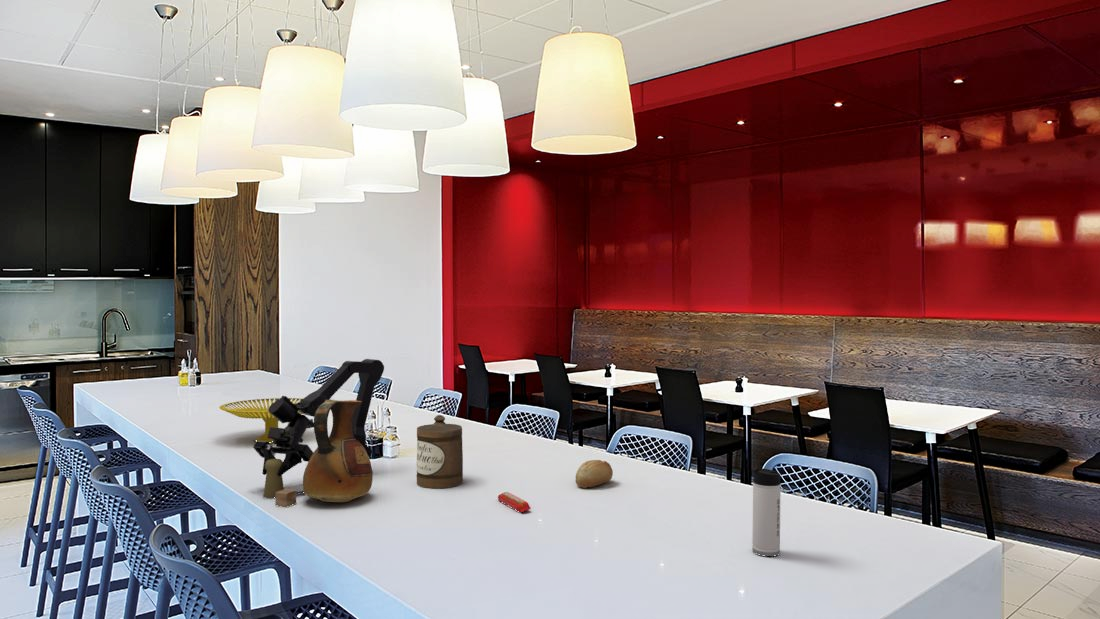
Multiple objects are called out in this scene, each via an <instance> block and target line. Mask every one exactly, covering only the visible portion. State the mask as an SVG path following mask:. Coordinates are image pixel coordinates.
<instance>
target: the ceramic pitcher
mask: <svg viewBox="0 0 1100 619" xmlns="http://www.w3.org/2000/svg"><path fill="white" fill-rule="evenodd" d="M361 403H362V401H356V399H355V400H353V399H352V400H351V399H348V400H336V399H333V398H330V400H325V402H324V403H323V404H321V405H320V406H319V407H318V409H317V410H316V412H315V415H314V417H313V423H314V427H313V431H314V435H315V441H316V445H317V447H316V449H315V450H314V451H313V452H314V453H313V454H312V456H311V458H310V460H309V462H307V464H306V467H305V470H304V472H303V475H302V484H303V490H304V493H303V494H305V495H306V496H307V497H310V498H313V499H316V500H317V499H318V500H320V501H321V502H326V503H327V502H330V503H331V502H332V503H348V502H351V501H352V500H354V499H357V498H359V497H362V496H365V495H366V494H368V493H369V492H370V490H371V489H372V485H373V479H374V478H373V477H374V476H373V475H374V474H373V468H372V462H371V459H370V457H369V456H368V454H367V452H366V450H365V449H364V447H363V446H362V444H361V443H360V442H359V441H357V440H356V439H355V438H354V435H353V432H352V420H353V413H354V410H355V409H356V408H357V407H358V406H359V405H360V404H361ZM330 412H331V416H332V426H331V431H330V434H329V432H328V430H329V429H328V419H329V418H328V417H329V414H330Z"/></svg>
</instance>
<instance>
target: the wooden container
mask: <svg viewBox="0 0 1100 619" xmlns="http://www.w3.org/2000/svg"><path fill="white" fill-rule="evenodd" d="M433 420H434V422H433V423H431V424H423V425H420V426H417V427H416V439H417V440H416V485H417V486H419V487H421V488H425V487H426V489H447V488H446V487H450V488H454V487H453V486H455V487H457V485H458V486H460V485H462V484H463V482H464V472H463V470H464V462H463V461H464V457H463V455H464V454H463V426H462V425H460V424H455V423H446V422H445V420H446V418H445V416H444V415H443V414H442V415H441V414H437V415H436V416H435V417H434V418H433ZM461 483H462V484H461ZM459 484H460V485H459Z"/></svg>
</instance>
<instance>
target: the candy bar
mask: <svg viewBox="0 0 1100 619" xmlns="http://www.w3.org/2000/svg"><path fill="white" fill-rule="evenodd" d="M497 500H498V502H499V501H501V502H503V503H505V504H507V505H509V506H511V507H512V508H514V509H516V510H517V511H519V512H523V513H525V512H527V511H529V510H531V506H530V505H529V502H528V501H526V500H525V499H522V498H520V497H519V496H516V495H514V494H513V493H511V492H509V491H505V492H502V493H500V494H498V496H497ZM501 502H500V503H501ZM503 503H502V504H503ZM512 508H511V509H512ZM517 511H516V512H517ZM524 511H525V512H524ZM519 512H518V513H519Z"/></svg>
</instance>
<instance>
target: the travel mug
mask: <svg viewBox="0 0 1100 619" xmlns="http://www.w3.org/2000/svg"><path fill="white" fill-rule="evenodd" d="M751 472H752V473H753V481H752V484H753V485H752V538H751V539H752V546H751V547H752V548H751V549H752V550H753V551H752V552H753V553H754V552H755V553H757V554H760V555H765V556H774V555H778V554H779V553H781V485H782V484H781V474H780V473H779V472H777V471H775V470H772V469H768V468H761V467H756V468H755V467H753V468H752V469H751ZM755 553H754V554H755ZM757 554H756V555H757ZM779 555H780V554H779ZM779 555H778V556H779Z"/></svg>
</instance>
